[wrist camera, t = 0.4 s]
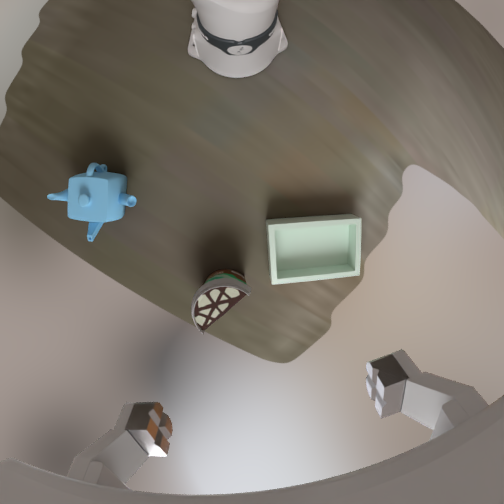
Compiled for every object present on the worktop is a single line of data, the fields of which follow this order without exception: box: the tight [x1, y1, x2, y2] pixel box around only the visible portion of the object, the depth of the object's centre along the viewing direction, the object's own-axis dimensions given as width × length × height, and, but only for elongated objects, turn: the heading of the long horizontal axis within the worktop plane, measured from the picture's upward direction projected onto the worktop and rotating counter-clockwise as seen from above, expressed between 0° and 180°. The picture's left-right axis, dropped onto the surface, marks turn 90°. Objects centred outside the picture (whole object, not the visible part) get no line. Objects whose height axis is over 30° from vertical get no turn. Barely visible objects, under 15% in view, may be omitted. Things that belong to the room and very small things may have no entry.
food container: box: [191, 269, 251, 334], centre depth 52 cm, size 12×6×10 cm, turn 133°
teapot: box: [47, 163, 136, 241], centre depth 46 cm, size 18×14×10 cm
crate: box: [266, 214, 361, 285], centre depth 53 cm, size 11×17×5 cm, turn 94°
